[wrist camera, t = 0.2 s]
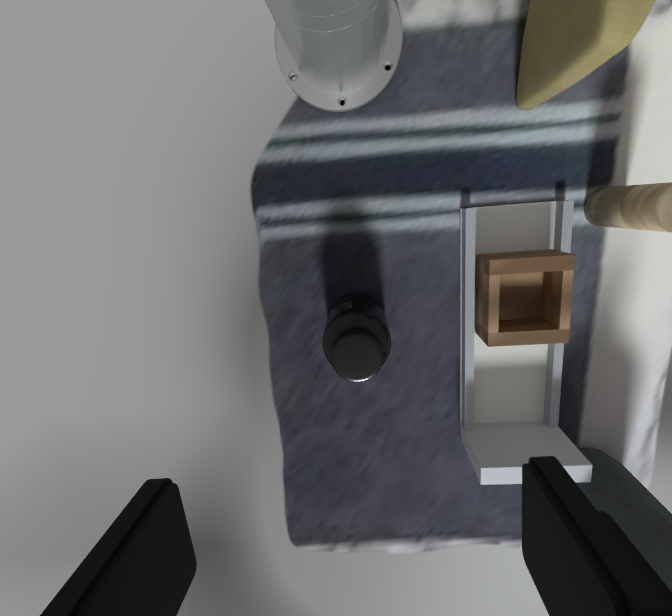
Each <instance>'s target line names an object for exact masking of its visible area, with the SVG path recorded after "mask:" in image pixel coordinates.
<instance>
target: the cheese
mask: <svg viewBox="0 0 672 616" xmlns="http://www.w3.org/2000/svg"><path fill="white" fill-rule="evenodd" d="M654 2H655V0H530V4H529V9H528V14H527V19H526V25H525V30H524V37H523V44H522V51H521V59H520V68H519V77H518V86H517V97H516V104H517V107H518V108H520V109H525V110H531V109H533V108H534V107H536V106H538V105H539V104H541V103H543V102H544V101H546V100H548V99H549V98H551V97H553V96H555V95H557V94H558V93H560V92H562V91H564V90H565V89H567V88H569V87H570V86H572V85H573V84H575V83H577V82H578V81H580V80H581V79H582V78H584V77H585V76H587V75H588V74H590V73H591V72H592V71H594V70H595V69H596V68H598V67H599V66H600V65H602V64H603V63H605V62H606V61H607V60H609V59H610V58H611V57H613V56H614V55H616V54H617V53H619V52H620V51H621V50H623V49H624V48H625V47H626V46H627V45H628V44H629V43H630V42H631V41H632V40H633V39H634V37H635V36H636V34H637V33H638V31H639V30H640V28H641V27H642V25H643V23H644V21H645V20H646V18H647V16H648V14H649V12H650V10H651V8H652V6H653V4H654Z"/></svg>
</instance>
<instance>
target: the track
mask: <svg viewBox="0 0 672 616" xmlns="http://www.w3.org/2000/svg"><path fill="white" fill-rule="evenodd" d="M573 208H574V200H562V201H550V202H537V203H524V204H511V205H498V206H486V207H473V208H460V437H461V440H462V442H463V444H464V447H465V449H466V451H467V454H468V456H469V458H470V461H471V463H472V465H473V468H474V470H475V472H476V475H477V477H478V480H479V482H480V484H481V485H487V484H522V465H523V464H524V463H528V462H529V458H530V457H540V456H555V457H556V458H557V459H558V461H559V462H560V463H561V465H562V466H563V467H564V468H565V470H566V471H567V472H568V474H569V475H570V476H571V478H572V479H573V480H574V481H575V483H578V482H591V476H592V466H593V465H592V464H591V463H590V462H589V461H588V460H587V458H586V457H585V456H584V455H583V454H582V453H581V452H580V451H579V449H578V448H577V447H576V446H575V445H574V444H573V443H572V442H571V440H570V439H569V438H568V437H567V436H566V435H565V434H564V432H563V431H562V430H561V429H560V428H559V427H558V422H559V408H560V393H561V379H562V365H563V350H564V343H556V344H536V345H516V346H496V347H488V346H487V345H486V344H485V343H484V342H483V341H482V340H481V338H480V337H479V336H478V335H477V334H476V333H475V254H485V253H500V252H514V251H529V250H543V249H553V250H558V251H562V252H566V253H570V250H571V236H572V222H573Z"/></svg>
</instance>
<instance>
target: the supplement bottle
mask: <svg viewBox="0 0 672 616" xmlns="http://www.w3.org/2000/svg"><path fill="white" fill-rule="evenodd" d="M390 349H391V337H390V333H389V329H388V325H387V321H386V317H385V314H384V311H383V309H382V307H381V306H380V304H379V303H378V302H377V301H376V300H375V299H373V298H372V297H370V296H368V295H365V294H359V293H354V294H348V295H346V296H343V297H342V298H340V299H339V300H337V301H336V302H335V303H334V305H333V306H332V308H331V310H330V312H329V315H328V319H327V323H326V327H325V331H324V336H323V350H324V353H325V356H326V358H327V360H328V361H329V362H330V364H331V365H332V366H333V369H334V370H336V373H337V374H339V376H341V377H343V378H344V379H347V380H348V381H352V382H360V381H365V380H369V379H370V378H372V377H373V376H374V375H376V374H377V372H378V371H379V370H380V367H381V366H382V365H383V364H384V362H385V361H386V359H387V358H388V355H389V353H390Z"/></svg>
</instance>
